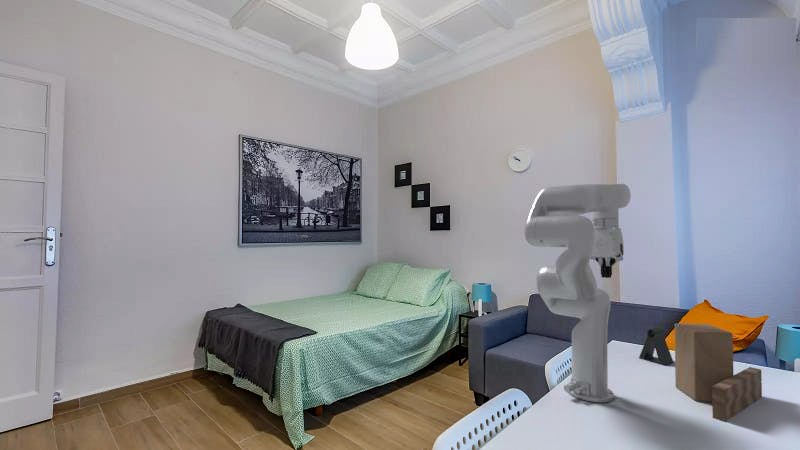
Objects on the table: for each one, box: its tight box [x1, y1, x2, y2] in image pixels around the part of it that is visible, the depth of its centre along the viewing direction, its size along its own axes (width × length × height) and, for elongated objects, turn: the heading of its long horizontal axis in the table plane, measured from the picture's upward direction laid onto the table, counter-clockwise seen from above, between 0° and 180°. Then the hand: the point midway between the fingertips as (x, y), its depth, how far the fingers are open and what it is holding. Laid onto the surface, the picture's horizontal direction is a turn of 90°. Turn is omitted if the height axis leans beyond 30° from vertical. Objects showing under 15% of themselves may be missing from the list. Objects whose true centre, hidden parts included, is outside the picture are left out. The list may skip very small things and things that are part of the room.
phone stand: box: [638, 327, 675, 366], centre depth 138 cm, size 9×6×12 cm, turn 27°
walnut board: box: [711, 366, 763, 422], centre depth 101 cm, size 28×2×8 cm, turn 121°
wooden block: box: [674, 323, 734, 403], centre depth 108 cm, size 10×10×20 cm
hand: (606, 277), depth 125 cm, fingers closed
